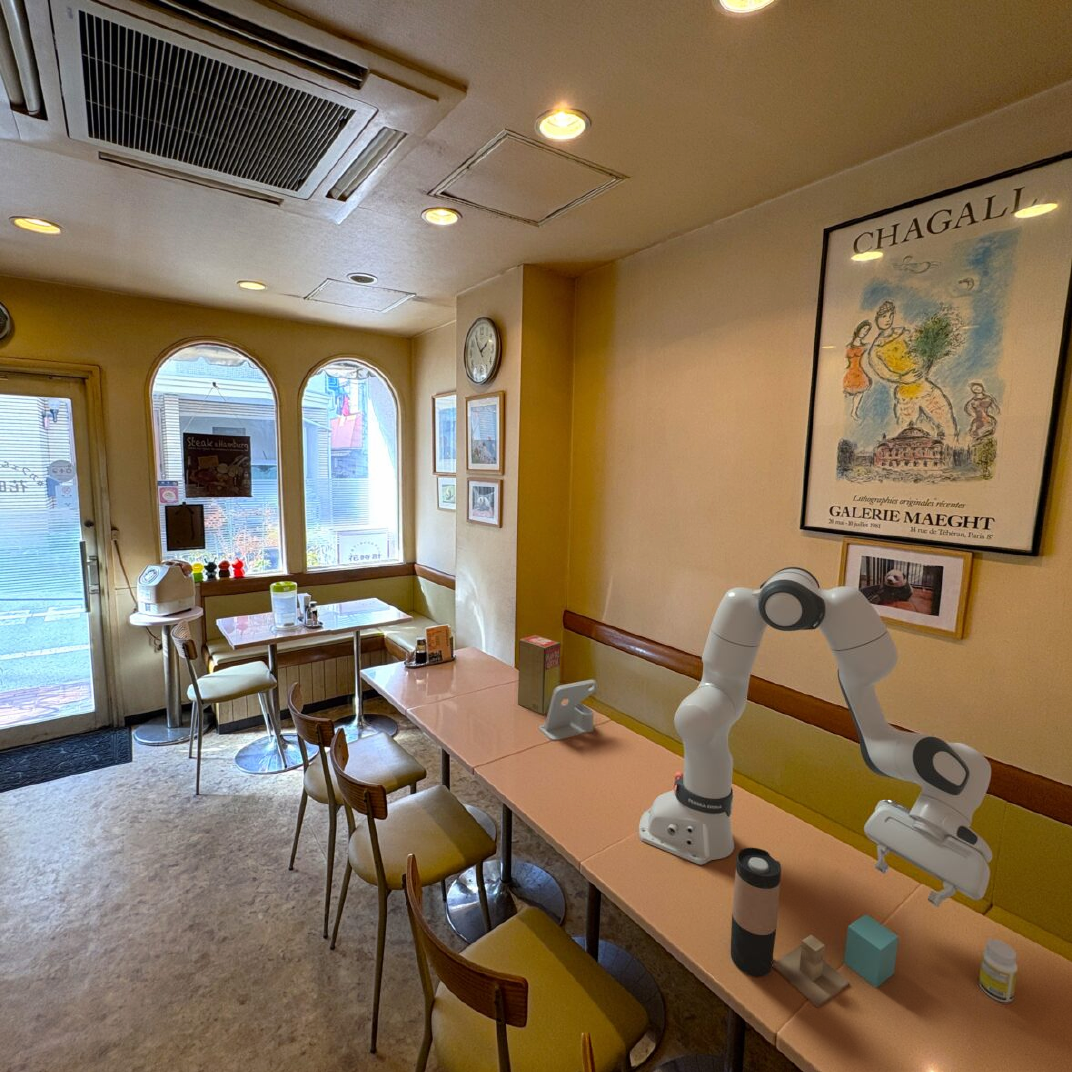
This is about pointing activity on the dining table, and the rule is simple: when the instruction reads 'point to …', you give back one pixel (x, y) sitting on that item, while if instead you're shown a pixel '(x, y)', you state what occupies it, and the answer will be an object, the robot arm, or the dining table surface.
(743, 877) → the travel mug
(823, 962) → the flat square base
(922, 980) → the dining table surface
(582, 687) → the phone holder
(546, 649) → the food packaging
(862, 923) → the teal rectangular block
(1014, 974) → the supplement bottle
